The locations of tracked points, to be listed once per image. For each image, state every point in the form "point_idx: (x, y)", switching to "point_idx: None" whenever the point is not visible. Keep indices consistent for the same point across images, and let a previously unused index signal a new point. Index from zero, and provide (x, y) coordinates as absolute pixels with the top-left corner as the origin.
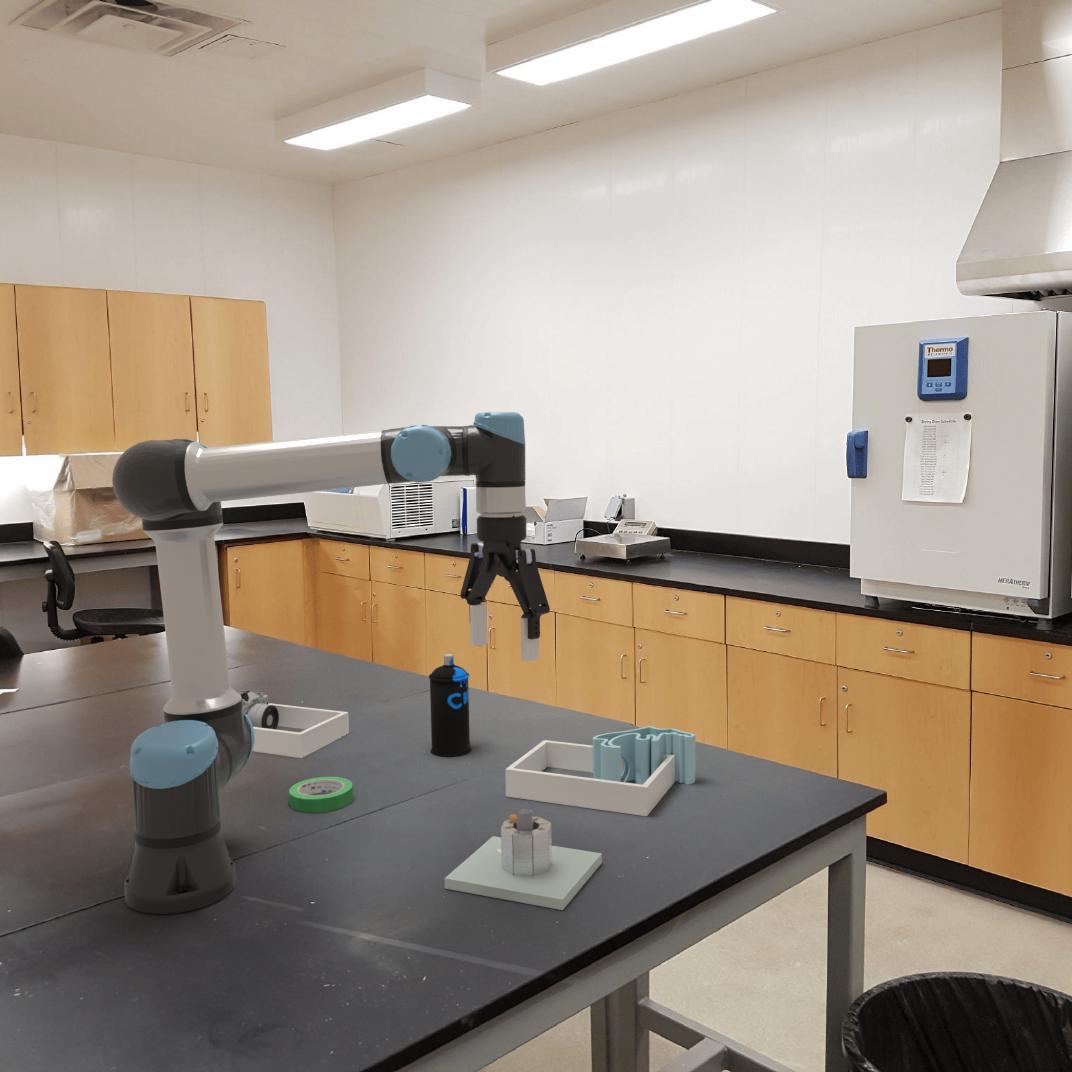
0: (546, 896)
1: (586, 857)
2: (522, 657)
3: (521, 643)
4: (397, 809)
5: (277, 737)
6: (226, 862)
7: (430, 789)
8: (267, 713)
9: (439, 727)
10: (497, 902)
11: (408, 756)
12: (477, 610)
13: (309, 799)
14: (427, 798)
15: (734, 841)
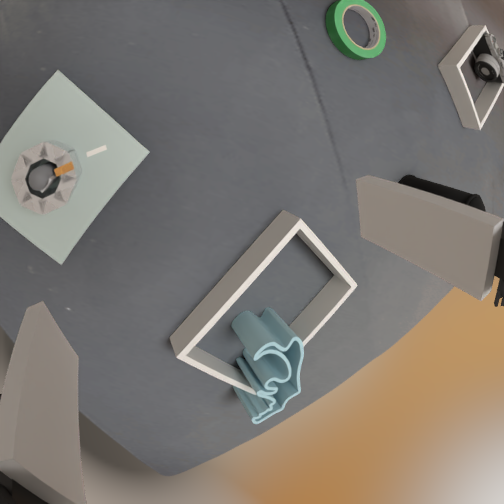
0: None
1: (55, 245)
2: (35, 311)
3: (28, 345)
4: (299, 81)
5: (460, 54)
6: None
7: (336, 136)
8: (490, 69)
9: (425, 187)
10: (8, 123)
11: (414, 152)
12: (469, 244)
13: (337, 4)
14: (315, 123)
15: (91, 386)
